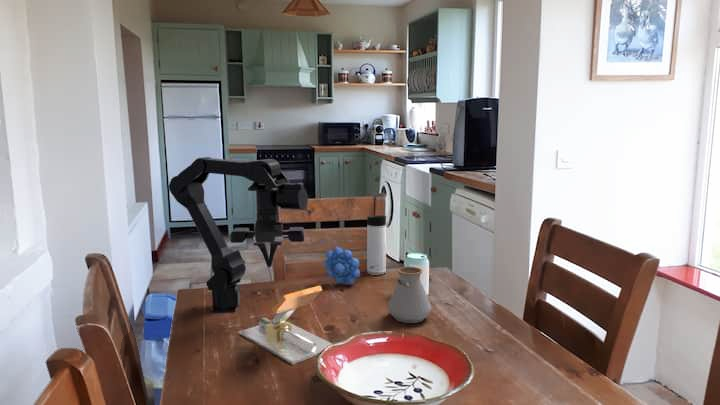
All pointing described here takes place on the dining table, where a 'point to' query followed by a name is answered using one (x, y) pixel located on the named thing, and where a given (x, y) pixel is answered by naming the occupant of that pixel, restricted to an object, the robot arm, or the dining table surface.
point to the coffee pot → (409, 297)
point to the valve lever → (293, 303)
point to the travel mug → (376, 244)
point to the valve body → (286, 340)
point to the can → (422, 263)
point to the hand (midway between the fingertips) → (269, 266)
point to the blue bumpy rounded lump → (342, 266)
